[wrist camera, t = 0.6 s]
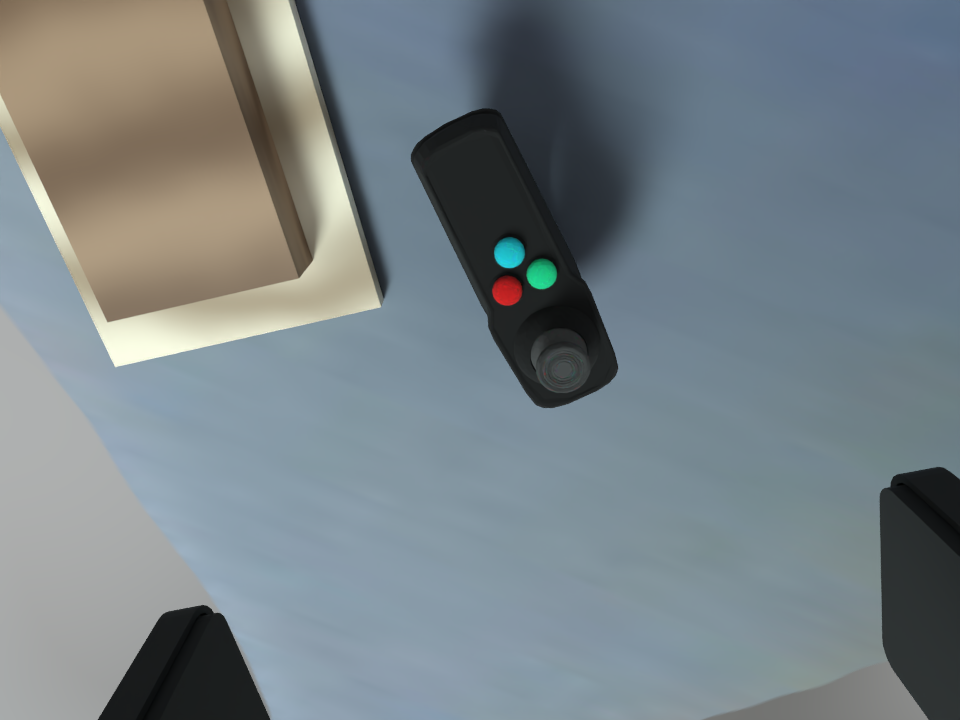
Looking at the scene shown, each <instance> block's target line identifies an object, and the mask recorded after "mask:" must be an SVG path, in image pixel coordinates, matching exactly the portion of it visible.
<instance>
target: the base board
mask: <svg viewBox="0 0 960 720" xmlns="http://www.w3.org/2000/svg"><path fill="white" fill-rule="evenodd" d="M0 127H1V129H2V131H3V133H4V135H5V137H6V140H7V142H8V144H9V146H10V148H11V150H12V152H13V154H14V156H15V158H16V160H17V163H18V165H19V167H20V169H21V171H22V173H23V175H24V177H25V179H26V181H27V183H28V186H29V188H30V190H31V192H32V194H33V196H34V198H35V200H36V202H37V204H38V207H39V209H40V211H41V213H42V215H43V217H44V219H45V221H46V223H47V225H48V227H49V230H50V232H51V234H52V236H53V238H54V240H55V242H56V244H57V246H58V248H59V250H60V253H61V255H62V257H63V259H64V261H65V263H66V265H67V267H68V269H69V271H70V273H71V276H72V278H73V280H74V282H75V284H76V286H77V288H78V290H79V292H80V294H81V296H82V299H83V301H84V303H85V305H86V307H87V309H88V311H89V313H90V315H91V317H92V319H93V322H94V324H95V326H96V328H97V330H98V332H99V334H100V336H101V338H102V340H103V342H104V345H105V347H106V349H107V351H108V353H109V355H110V357H111V359H112V361H113V363H114V365H115V367H117V366H122V365H126V364H131V363H135V362H139V361H144V360H148V359H153V358H157V357H162V356H166V355H171V354H175V353H179V352H184V351H188V350H193V349H197V348H202V347H206V346H211V345H215V344H219V343H224V342H228V341H233V340H237V339H242V338H246V337H251V336H255V335H259V334H264V333H268V332H273V331H277V330H282V329H286V328H291V327H295V326H299V325H304V324H308V323H313V322H317V321H322V320H326V319H331V318H335V317H339V316H344V315H348V314H353V313H357V312H362V311H366V310H371V309H375V308H379V307H381V306H382V303H383V300H384V299H383V295H382V292H381V289H380V285H379V282H378V278H377V275H376V272H375V268H374V265H373V262H372V258H371V255H370V252H369V248H368V245H367V242H366V238H365V235H364V232H363V228H362V225H361V222H360V218H359V215H358V212H357V208H356V205H355V201H354V198H353V195H352V191H351V188H350V185H349V181H348V178H347V175H346V171H345V168H344V165H343V161H342V158H341V155H340V151H339V148H338V145H337V141H336V138H335V135H334V131H333V128H332V124H331V121H330V118H329V114H328V111H327V108H326V104H325V101H324V98H323V94H322V91H321V88H320V84H319V81H318V78H317V74H316V71H315V68H314V64H313V61H312V58H311V54H310V51H309V48H308V44H307V41H306V37H305V34H304V31H303V27H302V24H301V21H300V17H299V14H298V11H297V7H296V4H295V1H294V0H0Z"/></svg>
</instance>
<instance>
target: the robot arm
mask: <svg viewBox="0 0 960 720" xmlns="http://www.w3.org/2000/svg"><path fill="white" fill-rule="evenodd" d="M880 538H881V589H882V639H883V647H884V650H885V654H886V656H887V659H888V661H889V663H890V665H891V667H892V668H893V670H894V672H895V673H896V675H897V676H898V677H899V679H900V680H901V681H902V683H903V684H904V686H905V687H906V689H907V690H908V691H909V693H910V694H911V695H912V697H913V698H914V700H915V701H916V702H917V704H918V705H919V707H920V708H921V709H922V711H923V712H924V714H925V715H926V716H927V718H928V719H929V720H960V479H958V478H957V477H956V476H955V475H953V474H952V473H951V472H950V471H948V470H946V469H945V468H942V467H935V468H930V469H925V470H919V471H914V472H909V473H903V474H898V475H896V476H894V477H893V479H892V481H891V486H890V487H889V488H884V489H883V490H882V491H881V493H880ZM98 720H270V718H269V716H268V713H267V711H266V709H265V707H264V705H263V702H262V700H261V698H260V695H259V693H258V691H257V689H256V686H255V684H254V682H253V680H252V677H251V675H250V673H249V671H248V668H247V666H246V664H245V662H244V659H243V657H242V655H241V653H240V650H239V648H238V646H237V644H236V641H235V639H234V637H233V635H232V632H231V630H230V628H229V626H228V623H227V621H226V619H225V618H224V616H223V615H222V614H221V613H213V611H212V609H211V608H209V607H208V606H204V605H201V606H195V607H190V608H185V609H180V610H174V611H169V612H166V613H164V614H163V615H162V616H161V617H160V618H159V620H158V621H157V623H156V625H155V626H154V628H153V629H152V631H151V633H150V634H149V636H148V638H147V639H146V641H145V643H144V644H143V646H142V648H141V649H140V651H139V653H138V654H137V656H136V658H135V659H134V661H133V663H132V664H131V666H130V668H129V669H128V671H127V672H126V674H125V676H124V677H123V679H122V681H121V682H120V684H119V686H118V687H117V689H116V691H115V692H114V694H113V696H112V697H111V699H110V701H109V702H108V704H107V706H106V707H105V709H104V710H103V712H102V714H101V715H100V717H99V719H98Z"/></svg>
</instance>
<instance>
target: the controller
mask: <svg viewBox="0 0 960 720" xmlns="http://www.w3.org/2000/svg"><path fill="white" fill-rule="evenodd" d="M411 162H412V164H413V166H414V168H415V170H416V172H417V174H418V176H419V179H420V181H421V183H422V185H423V187H424V189H425V191H426V193H427V195H428V197H429V199H430V201H431V203H432V205H433V207H434V209H435V211H436V213H437V215H438V217H439V219H440V222H441V224H442V226H443V228H444V230H445V232H446V234H447V236H448V238H449V240H450V242H451V244H452V246H453V248H454V250H455V252H456V254H457V256H458V258H459V260H460V263H461V265H462V267H463V269H464V271H465V273H466V275H467V277H468V279H469V281H470V283H471V285H472V287H473V289H474V291H475V293H476V295H477V297H478V299H479V301H480V303H481V306H482V307H483V309H484V311H485V312H486V314H487V316H488V327H489V330H490V332H491V334H492V337H493V339H494V341H495V342H496V344H497V346H498V347H499V349H500V351H501V352H502V354H503V356H504V357H505V359H506V361H507V362H508V364H509V366H510V367H511V369H512V370H513V372H514V374H515V375H516V377H517V379H518V380H519V382H520V384H521V385H522V387H523V389H524V390H525V392H526V393H527V395H528V396H529V397H530V398H531V400H532V401H533V402H534V403H535V404H536V405H537V406H540V407H543V408H555V407H558V406H562V405H566V404H569V403H571V402H573V401H576V400H578V399H580V398H582V397H584V396H587V395H589V394H591V393H593V392H596V391H598V390H599V389H601V388H602V387H604V386H605V385H607V384H608V383H610V382H611V380H612V379H613V378H614V377H615V376H616V373H617V370H618V364H617V360H616V356H615V352H614V350H613V347H612V345H611V342H610V340H609V337H608V334H607V332H606V329H605V327H604V324H603V322H602V319H601V316H600V314H599V311H598V309H597V306H596V304H595V301H594V299H593V296H592V293H591V291H590V289H589V288H588V286H587V284H586V282H585V281H584V280H583V279H582V278H581V275H580V273H579V270H578V268H577V265H576V263H575V261H574V258H573V257H572V255H571V253H570V251H569V249H568V247H567V245H566V243H565V241H564V239H563V237H562V235H561V233H560V231H559V229H558V227H557V225H556V223H555V221H554V219H553V217H552V215H551V213H550V211H549V209H548V207H547V205H546V203H545V201H544V199H543V197H542V195H541V193H540V191H539V189H538V187H537V185H536V183H535V181H534V179H533V177H532V175H531V173H530V171H529V169H528V167H527V165H526V163H525V161H524V159H523V157H522V155H521V153H520V151H519V149H518V147H517V145H516V143H515V141H514V139H513V137H512V135H511V133H510V131H509V129H508V127H507V125H506V123H505V121H504V119H503V117H502V115H501V113H499V112H498V111H497V110H493V109H479V110H476V111H472V112H470V113H468V114H465V115H463V116H461V117H459V118H457V119H454V120H452V121H450V122H448V123H446V124H444V125H442V126H441V127H439V128H438V129H436V130H435V131H433V132H432V133H430V134H428V135H427V136H425V137H424V138H423V139H422V140H421V141H420V142H418V143H417V145H416V146H415V147H414V149H413V152H412V154H411Z"/></svg>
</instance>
